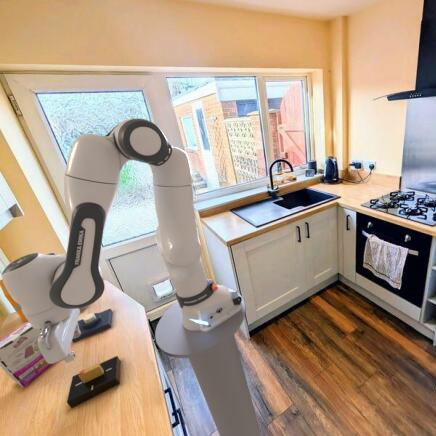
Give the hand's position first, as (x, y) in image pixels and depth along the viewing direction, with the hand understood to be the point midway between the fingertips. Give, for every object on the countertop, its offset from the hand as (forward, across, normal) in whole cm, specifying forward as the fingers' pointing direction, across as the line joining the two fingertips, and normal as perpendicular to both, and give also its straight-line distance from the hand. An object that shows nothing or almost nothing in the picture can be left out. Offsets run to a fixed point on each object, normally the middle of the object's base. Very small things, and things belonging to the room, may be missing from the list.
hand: (74, 347), depth 71 cm
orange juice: (+16, +57, +28) cm, 65 cm away
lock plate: (+15, -1, -1) cm, 15 cm away
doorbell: (+15, +29, +3) cm, 33 cm away
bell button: (+12, +29, +3) cm, 31 cm away
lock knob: (+12, -1, -1) cm, 12 cm away
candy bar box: (+16, +17, +17) cm, 29 cm away
